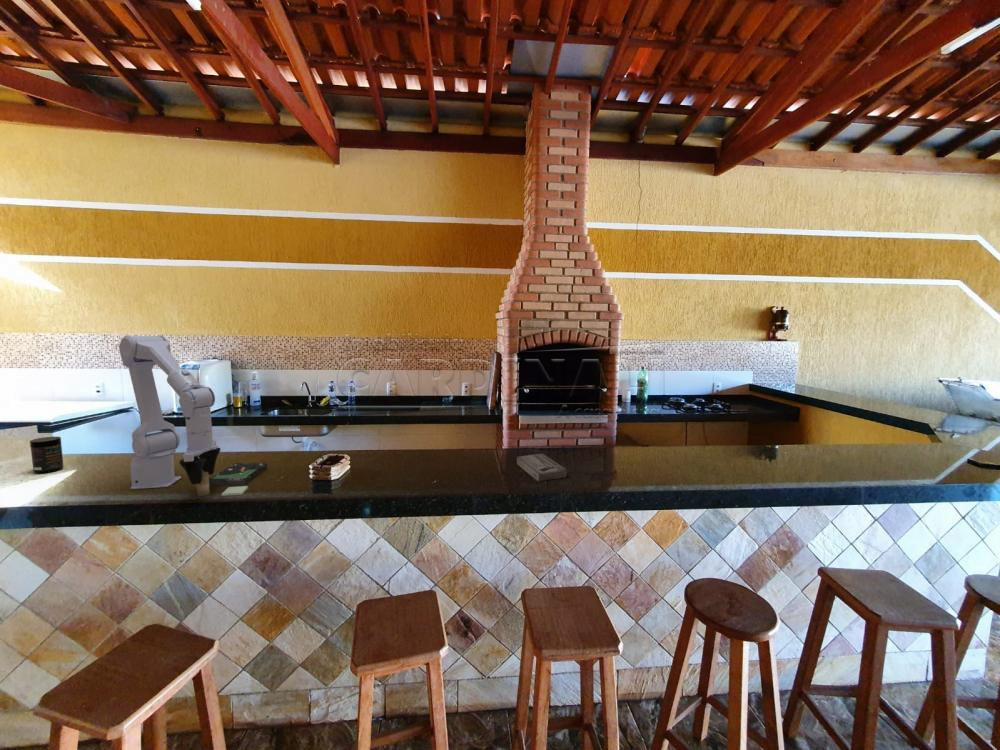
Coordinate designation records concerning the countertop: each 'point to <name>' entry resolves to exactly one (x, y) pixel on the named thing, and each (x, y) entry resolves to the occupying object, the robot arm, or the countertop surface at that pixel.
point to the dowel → (203, 485)
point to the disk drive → (238, 474)
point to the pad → (235, 490)
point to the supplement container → (46, 455)
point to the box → (541, 467)
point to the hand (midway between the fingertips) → (202, 478)
